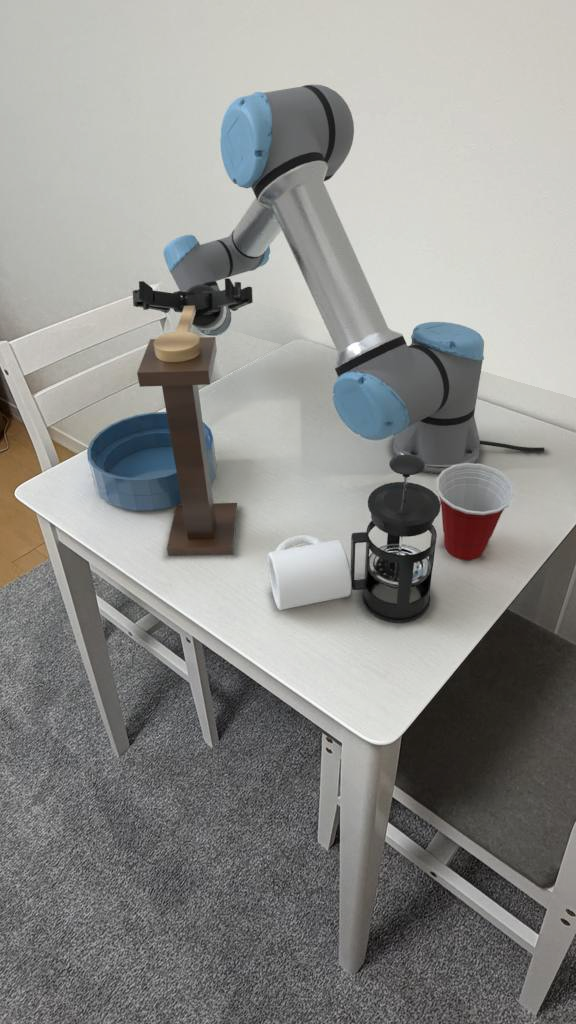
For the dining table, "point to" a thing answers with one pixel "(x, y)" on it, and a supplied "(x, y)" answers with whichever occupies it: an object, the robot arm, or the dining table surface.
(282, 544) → the mug
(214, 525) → the stand
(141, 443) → the bowl
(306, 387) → the dining table surface
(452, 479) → the plastic cup
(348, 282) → the robot arm
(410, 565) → the french press
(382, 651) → the dining table surface
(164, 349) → the spoon
